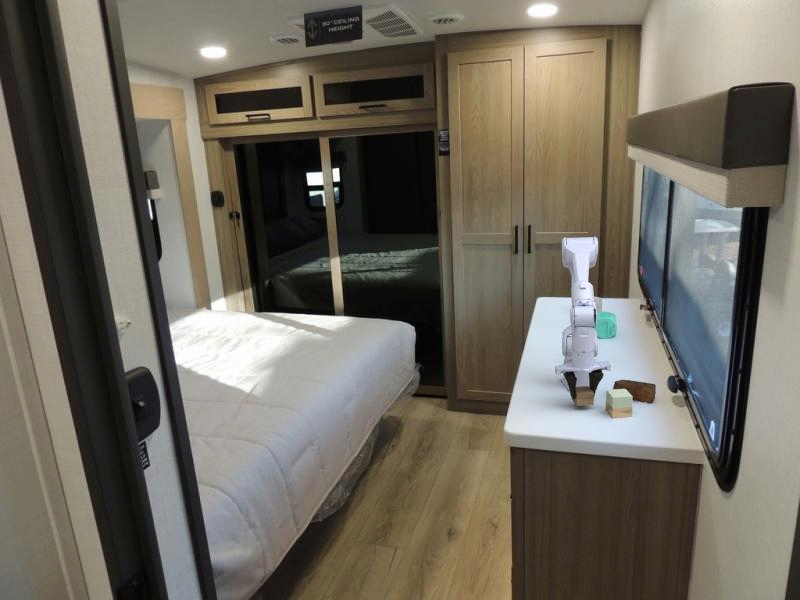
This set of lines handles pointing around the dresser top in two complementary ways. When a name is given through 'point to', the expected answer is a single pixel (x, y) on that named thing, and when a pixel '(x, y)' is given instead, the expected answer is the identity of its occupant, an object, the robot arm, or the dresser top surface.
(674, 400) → the dresser top surface
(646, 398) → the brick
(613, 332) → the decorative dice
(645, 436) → the dresser top surface
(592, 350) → the robot arm
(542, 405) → the dresser top surface
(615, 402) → the sage block
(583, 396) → the walnut block
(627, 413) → the oak block
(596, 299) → the product box
